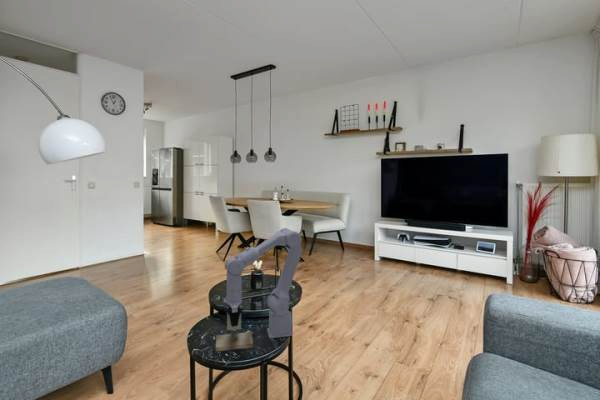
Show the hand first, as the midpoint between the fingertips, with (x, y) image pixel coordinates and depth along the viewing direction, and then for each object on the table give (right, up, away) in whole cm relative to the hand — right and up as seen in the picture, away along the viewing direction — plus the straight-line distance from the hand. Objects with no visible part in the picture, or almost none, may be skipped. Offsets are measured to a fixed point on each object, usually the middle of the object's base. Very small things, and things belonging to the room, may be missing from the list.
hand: (234, 322), depth 122 cm
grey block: (0, -2, 0) cm, 2 cm away
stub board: (0, -8, +1) cm, 8 cm away
